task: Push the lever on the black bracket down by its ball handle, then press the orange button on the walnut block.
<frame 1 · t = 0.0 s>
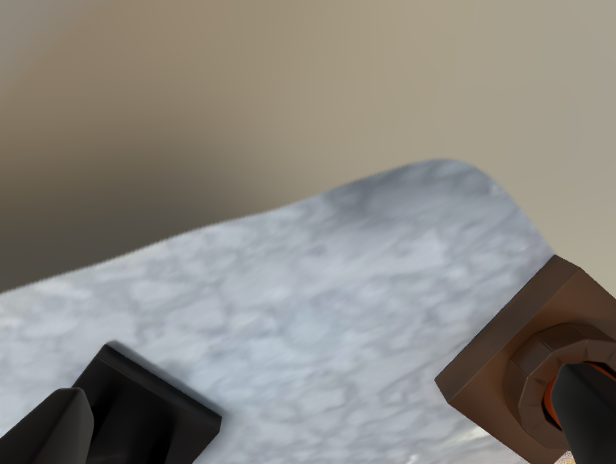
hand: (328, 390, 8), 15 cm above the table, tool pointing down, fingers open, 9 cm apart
button: (588, 403, 22), point 4 cm above the table, slide at 0.1 cm
button block: (538, 356, 26), on the table
bracket: (117, 440, 26), on the table
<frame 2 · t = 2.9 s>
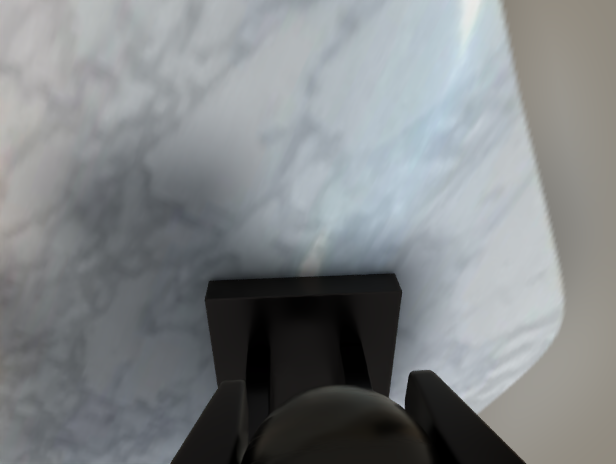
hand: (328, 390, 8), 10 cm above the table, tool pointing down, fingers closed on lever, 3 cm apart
bracket: (303, 361, 21), on the table
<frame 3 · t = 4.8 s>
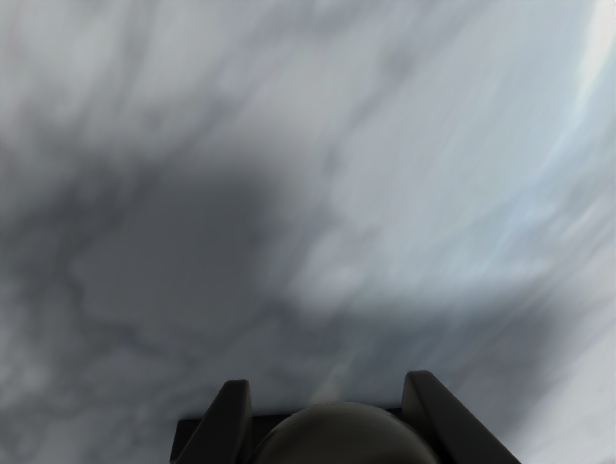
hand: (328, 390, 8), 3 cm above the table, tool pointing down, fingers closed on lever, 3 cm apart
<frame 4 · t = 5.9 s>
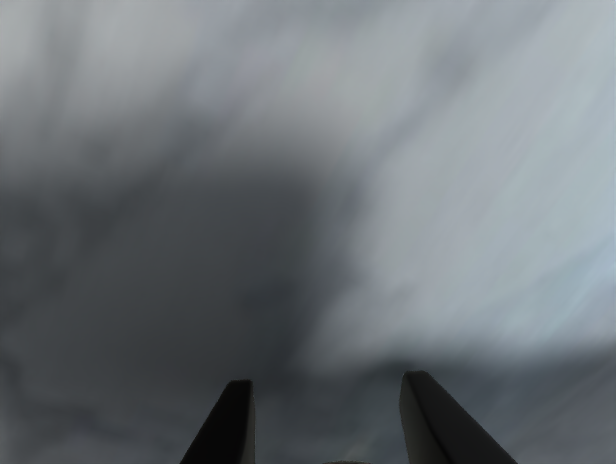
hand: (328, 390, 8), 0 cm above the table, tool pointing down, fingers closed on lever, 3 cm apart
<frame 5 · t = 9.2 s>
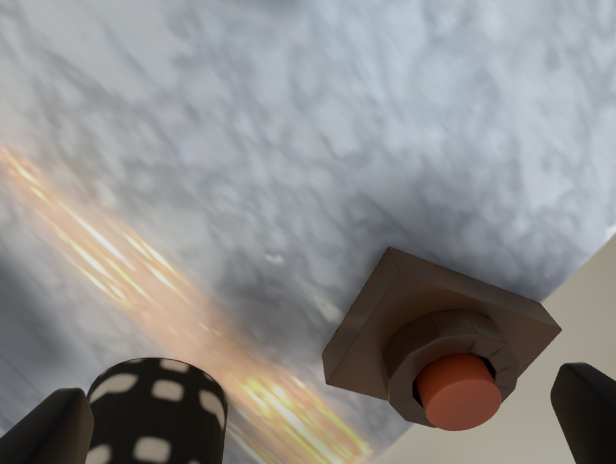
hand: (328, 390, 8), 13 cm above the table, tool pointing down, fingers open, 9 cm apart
button: (457, 391, 22), point 4 cm above the table, slide at 0.1 cm
spotted black cylinder: (159, 404, 27), on the table
button block: (429, 329, 26), on the table
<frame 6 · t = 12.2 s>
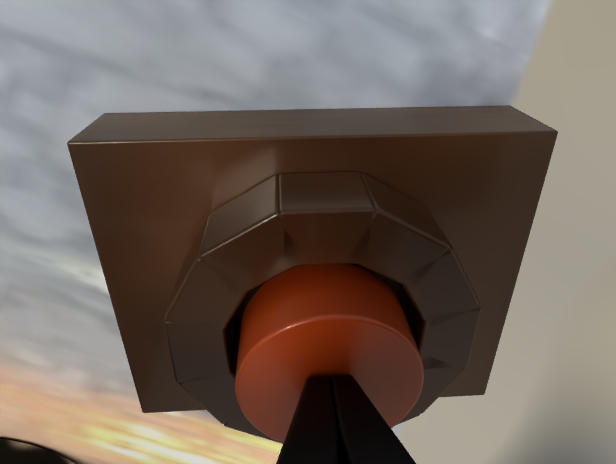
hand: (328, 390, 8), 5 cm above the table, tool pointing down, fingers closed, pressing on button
button: (326, 356, 9), point 4 cm above the table, slide at -0.1 cm, touching gripper
button block: (311, 247, 13), on the table
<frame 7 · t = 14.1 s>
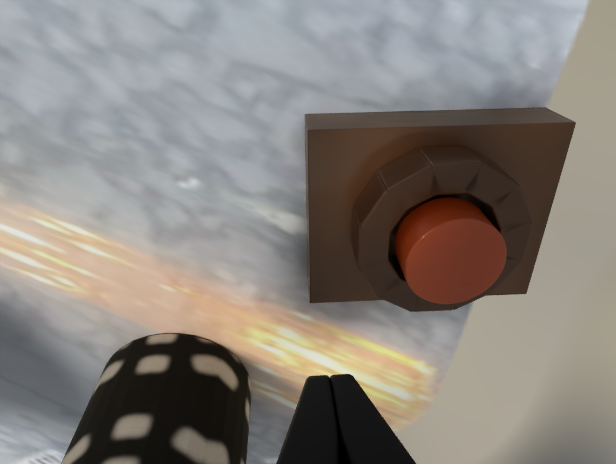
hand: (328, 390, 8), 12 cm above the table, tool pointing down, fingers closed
button: (447, 251, 16), point 4 cm above the table, slide at 0.1 cm
spotted black cylinder: (179, 385, 26), on the table
button block: (416, 198, 20), on the table
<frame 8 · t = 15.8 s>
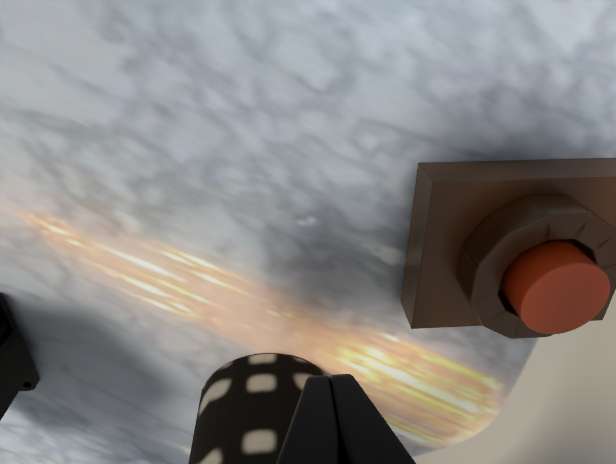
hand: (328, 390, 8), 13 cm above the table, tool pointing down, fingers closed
button: (553, 288, 19), point 4 cm above the table, slide at 0.1 cm
spotted black cylinder: (268, 399, 28), on the table
button block: (505, 234, 22), on the table
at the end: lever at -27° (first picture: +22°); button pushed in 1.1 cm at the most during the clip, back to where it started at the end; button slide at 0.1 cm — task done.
